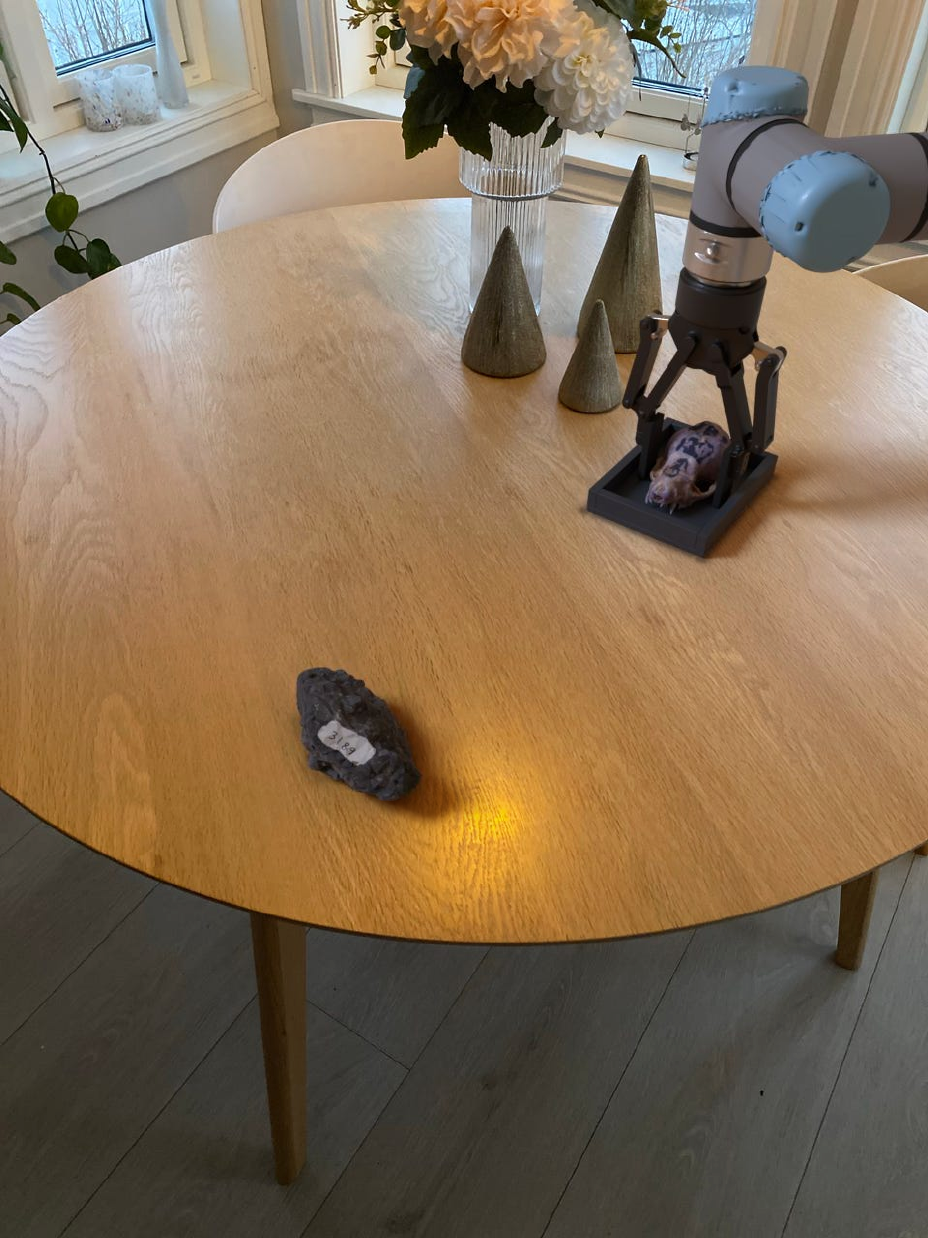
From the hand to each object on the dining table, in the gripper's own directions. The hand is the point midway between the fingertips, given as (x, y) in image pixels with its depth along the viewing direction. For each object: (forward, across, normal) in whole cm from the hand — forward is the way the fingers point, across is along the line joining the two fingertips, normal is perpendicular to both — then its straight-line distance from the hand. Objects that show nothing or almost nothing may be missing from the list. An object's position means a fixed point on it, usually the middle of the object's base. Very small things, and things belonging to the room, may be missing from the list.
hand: (683, 485), depth 99 cm
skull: (0, 0, 0) cm, 0 cm away
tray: (+1, 0, 0) cm, 1 cm away
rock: (+1, -5, -46) cm, 46 cm away
